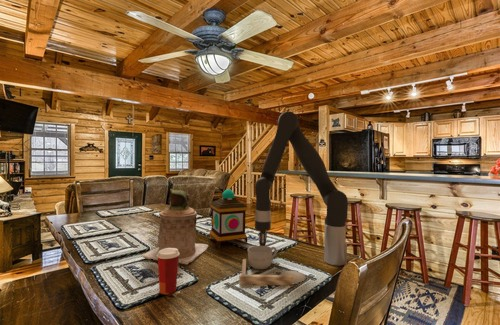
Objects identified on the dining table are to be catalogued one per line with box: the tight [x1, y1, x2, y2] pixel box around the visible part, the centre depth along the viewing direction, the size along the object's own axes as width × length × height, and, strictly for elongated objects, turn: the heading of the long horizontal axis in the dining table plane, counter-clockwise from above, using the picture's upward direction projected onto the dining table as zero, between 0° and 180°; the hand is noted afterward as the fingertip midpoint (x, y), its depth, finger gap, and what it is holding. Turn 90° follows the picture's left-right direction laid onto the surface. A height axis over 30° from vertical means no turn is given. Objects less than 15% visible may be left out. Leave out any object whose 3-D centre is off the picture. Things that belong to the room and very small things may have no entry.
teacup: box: [247, 245, 278, 270], centre depth 111 cm, size 14×11×8 cm
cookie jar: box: [141, 188, 209, 265], centre depth 125 cm, size 25×25×32 cm
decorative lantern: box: [208, 188, 248, 248], centre depth 145 cm, size 20×20×30 cm
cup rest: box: [238, 258, 294, 286], centre depth 103 cm, size 20×17×3 cm
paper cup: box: [156, 248, 180, 296], centre depth 89 cm, size 8×8×14 cm
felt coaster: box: [279, 270, 306, 284], centre depth 101 cm, size 10×10×1 cm
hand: (262, 255), depth 120 cm, fingers closed
